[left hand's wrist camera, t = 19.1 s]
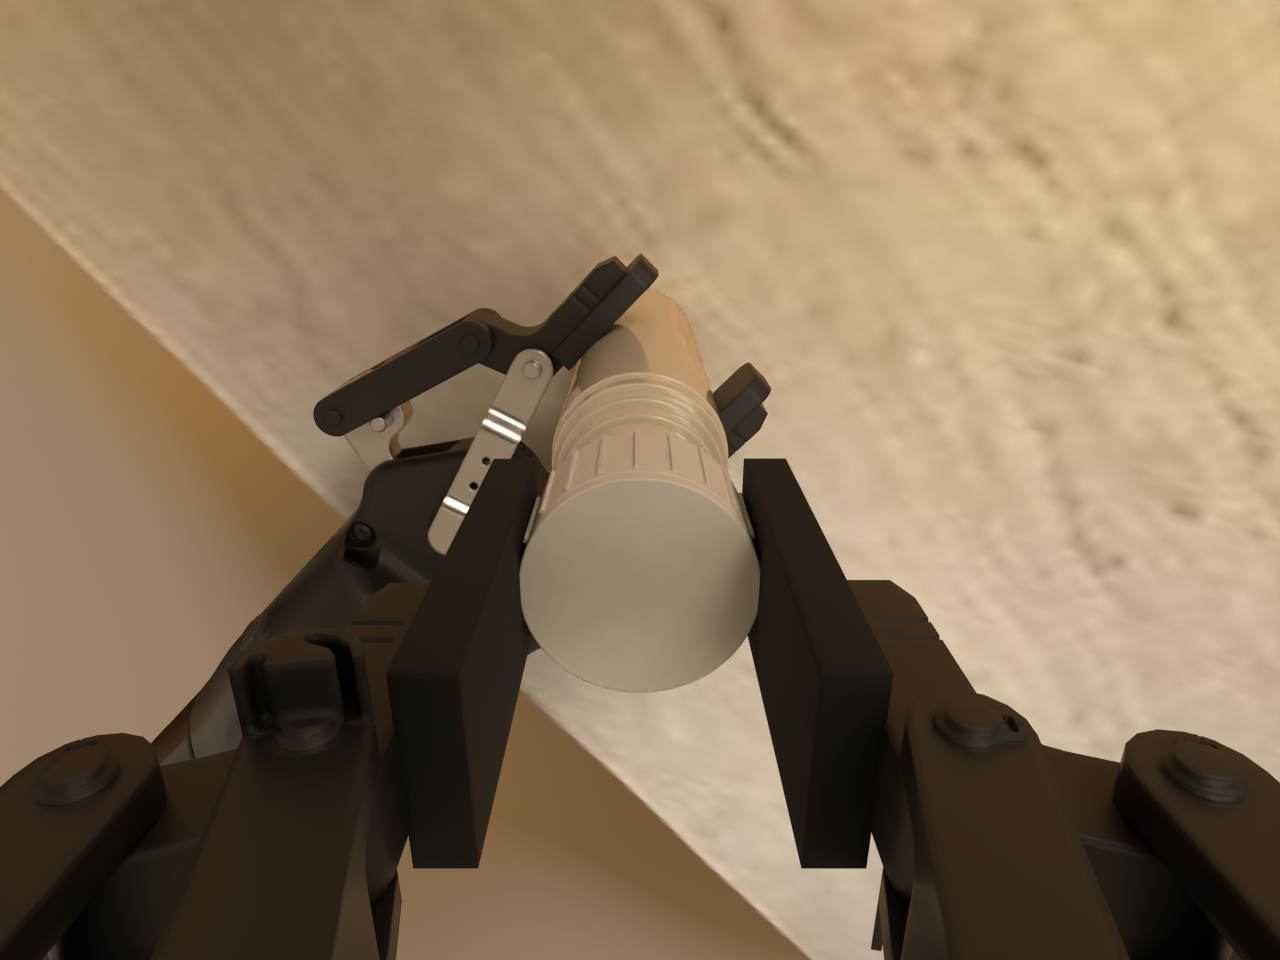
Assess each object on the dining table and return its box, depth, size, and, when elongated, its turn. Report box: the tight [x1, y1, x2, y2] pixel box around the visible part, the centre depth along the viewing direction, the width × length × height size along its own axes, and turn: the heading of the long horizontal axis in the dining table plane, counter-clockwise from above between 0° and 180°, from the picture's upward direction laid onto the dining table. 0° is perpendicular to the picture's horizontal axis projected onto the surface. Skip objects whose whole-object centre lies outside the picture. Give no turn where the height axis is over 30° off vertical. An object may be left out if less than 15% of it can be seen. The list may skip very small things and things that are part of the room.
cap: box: [519, 430, 760, 693], centre depth 13 cm, size 4×4×2 cm
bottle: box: [552, 289, 728, 471], centre depth 22 cm, size 4×4×19 cm
